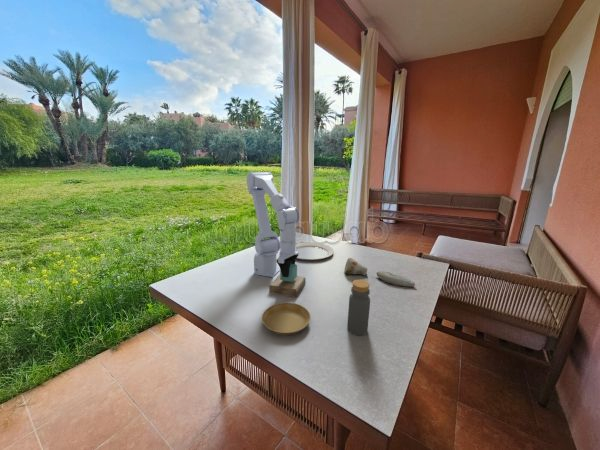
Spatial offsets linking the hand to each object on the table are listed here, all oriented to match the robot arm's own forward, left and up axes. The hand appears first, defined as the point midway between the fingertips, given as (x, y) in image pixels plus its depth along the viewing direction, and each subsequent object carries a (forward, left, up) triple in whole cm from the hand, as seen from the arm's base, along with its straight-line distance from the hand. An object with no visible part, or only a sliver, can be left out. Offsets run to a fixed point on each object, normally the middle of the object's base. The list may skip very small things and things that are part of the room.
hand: (287, 273), depth 94 cm
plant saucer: (+7, -20, -7) cm, 22 cm away
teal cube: (0, 0, -2) cm, 2 cm away
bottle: (+28, -16, -6) cm, 33 cm away
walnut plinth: (0, 0, -6) cm, 6 cm away
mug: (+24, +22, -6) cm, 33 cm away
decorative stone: (+40, +19, -7) cm, 45 cm away
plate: (-2, +39, -7) cm, 40 cm away
